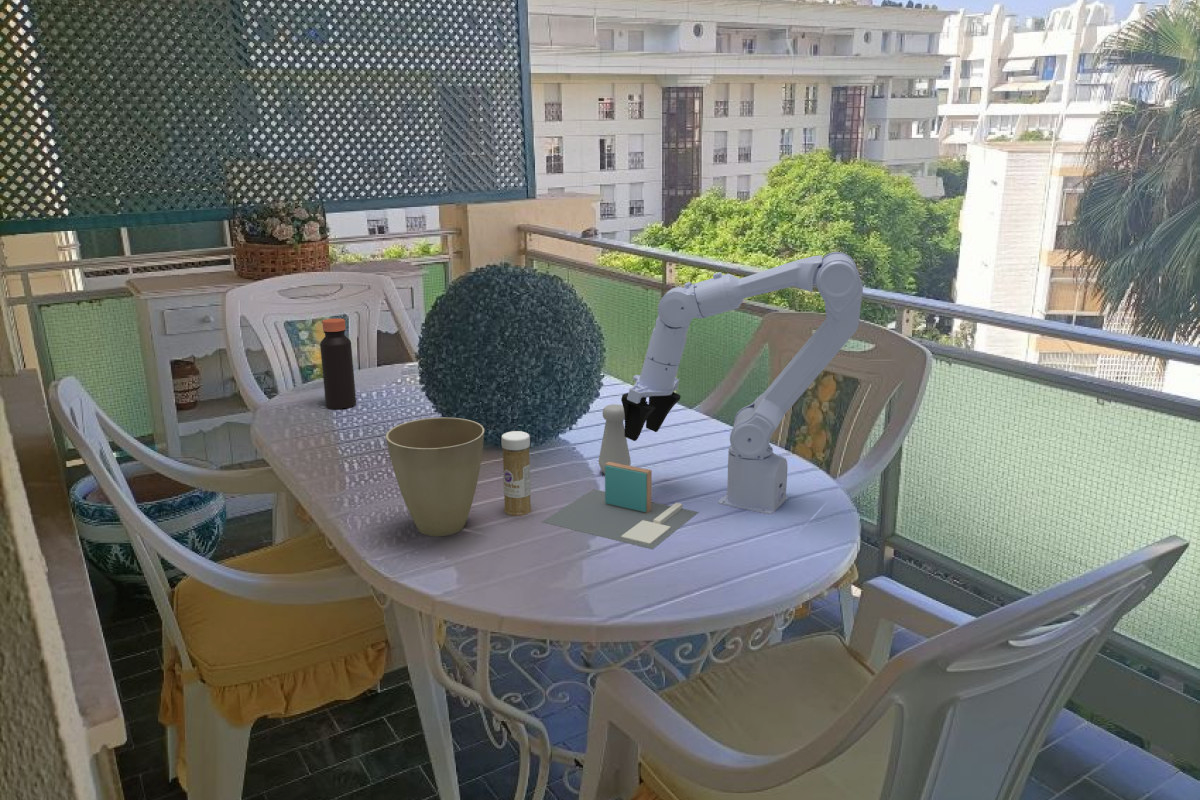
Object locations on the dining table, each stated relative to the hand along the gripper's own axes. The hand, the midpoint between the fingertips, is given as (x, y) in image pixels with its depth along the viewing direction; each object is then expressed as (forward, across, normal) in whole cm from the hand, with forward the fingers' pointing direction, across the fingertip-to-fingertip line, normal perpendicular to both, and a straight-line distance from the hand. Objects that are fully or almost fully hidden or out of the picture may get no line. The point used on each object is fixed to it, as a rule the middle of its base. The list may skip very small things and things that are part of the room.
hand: (641, 434), depth 154 cm
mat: (+11, +10, +5) cm, 16 cm away
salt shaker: (+12, -7, -6) cm, 15 cm away
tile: (+10, +6, +4) cm, 13 cm away
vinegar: (+31, -14, -80) cm, 87 cm away
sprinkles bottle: (+15, +16, -10) cm, 25 cm away
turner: (+9, +10, +11) cm, 18 cm away
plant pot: (+18, +27, -17) cm, 37 cm away
